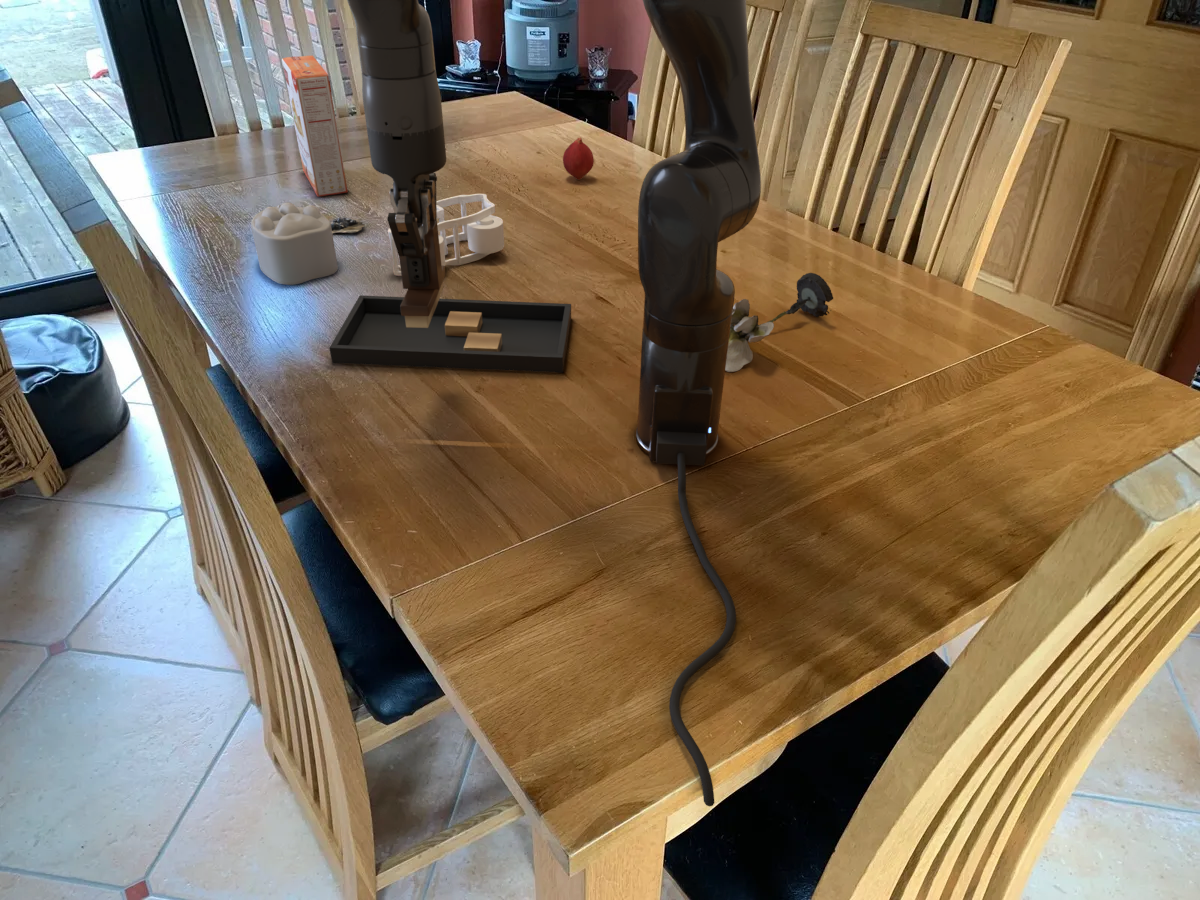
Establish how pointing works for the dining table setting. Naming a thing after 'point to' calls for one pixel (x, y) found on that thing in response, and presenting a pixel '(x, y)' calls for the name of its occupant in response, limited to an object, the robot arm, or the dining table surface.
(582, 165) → the onion
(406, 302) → the brush
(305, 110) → the cracker box
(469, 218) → the wheeled car silhouette
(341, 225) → the lumpy flat slab
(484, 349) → the offcut
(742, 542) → the dining table surface
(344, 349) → the tray
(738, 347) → the artificial flower
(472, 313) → the offcut
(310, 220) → the lumpy-topped squat cylinder
